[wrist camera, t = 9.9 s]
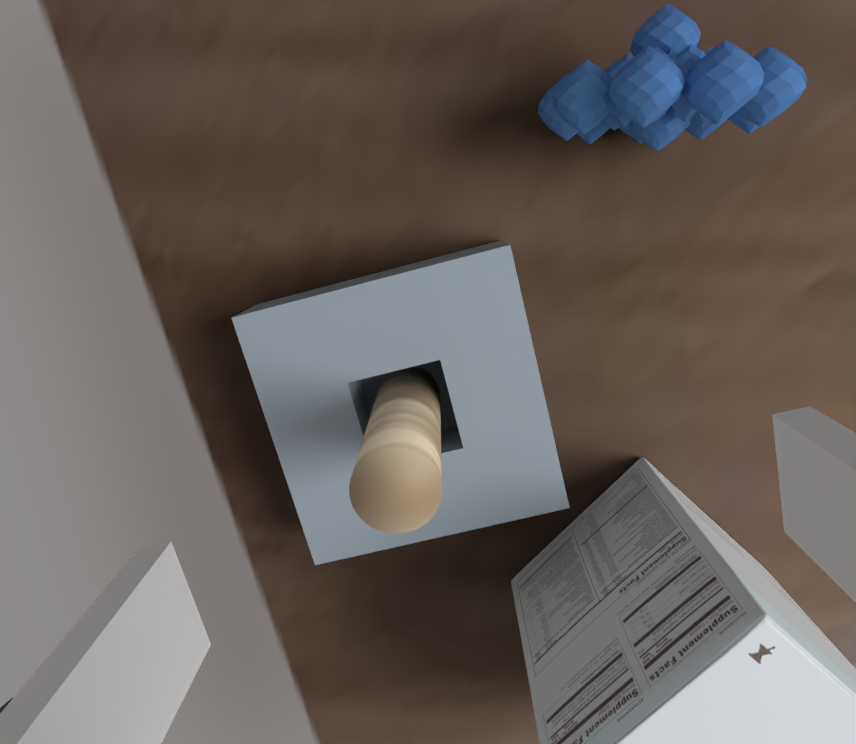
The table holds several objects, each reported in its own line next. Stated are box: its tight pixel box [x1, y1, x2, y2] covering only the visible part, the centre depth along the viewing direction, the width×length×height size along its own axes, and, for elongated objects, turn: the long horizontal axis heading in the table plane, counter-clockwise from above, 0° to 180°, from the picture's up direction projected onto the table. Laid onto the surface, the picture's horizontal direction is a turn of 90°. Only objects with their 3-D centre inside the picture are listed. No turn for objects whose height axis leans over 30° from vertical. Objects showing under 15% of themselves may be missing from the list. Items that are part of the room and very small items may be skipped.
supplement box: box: [511, 458, 856, 744], centre depth 37 cm, size 13×13×18 cm
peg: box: [349, 367, 442, 534], centre depth 35 cm, size 4×4×14 cm
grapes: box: [538, 3, 807, 151], centre depth 32 cm, size 12×7×12 cm, turn 91°
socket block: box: [232, 240, 570, 565], centre depth 40 cm, size 16×16×5 cm
